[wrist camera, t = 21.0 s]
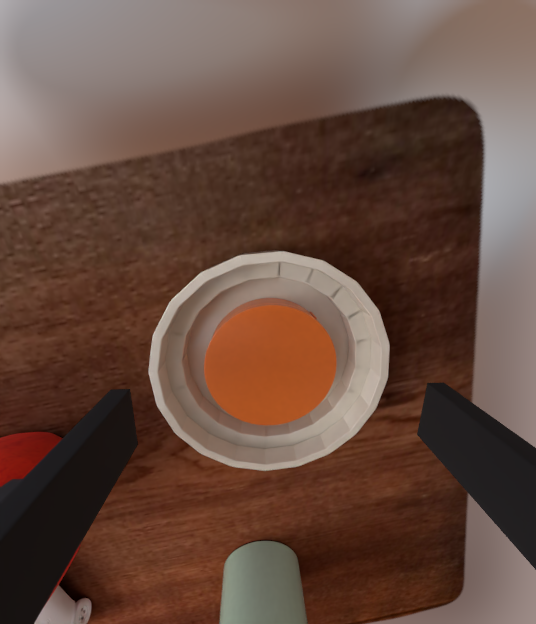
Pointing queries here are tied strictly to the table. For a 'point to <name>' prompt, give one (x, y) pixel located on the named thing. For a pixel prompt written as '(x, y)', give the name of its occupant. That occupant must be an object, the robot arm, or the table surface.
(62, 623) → the toy car
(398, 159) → the table surface
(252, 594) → the jar
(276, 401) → the lid
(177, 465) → the table surface
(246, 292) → the dish
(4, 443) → the apple
